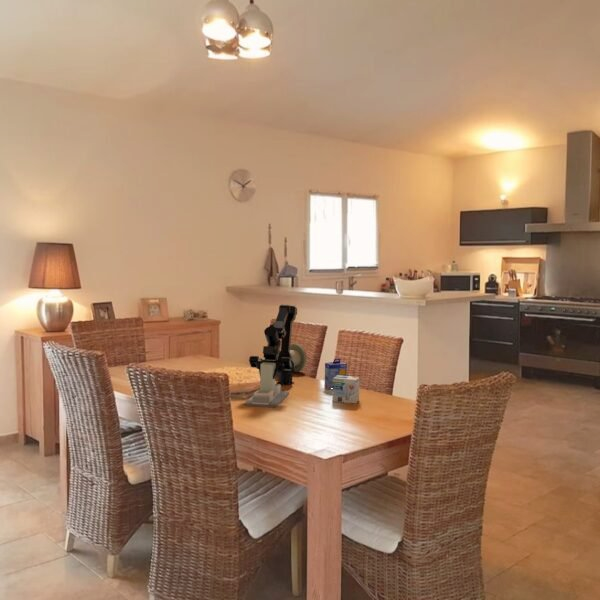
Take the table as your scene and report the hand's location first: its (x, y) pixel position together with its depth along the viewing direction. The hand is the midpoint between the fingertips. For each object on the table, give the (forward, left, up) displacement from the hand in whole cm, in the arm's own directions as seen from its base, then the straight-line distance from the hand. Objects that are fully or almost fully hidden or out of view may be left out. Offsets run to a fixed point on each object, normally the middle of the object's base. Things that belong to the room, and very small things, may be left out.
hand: (266, 378), depth 279 cm
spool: (-36, +51, -10) cm, 63 cm away
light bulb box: (+26, +23, -10) cm, 37 cm away
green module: (-1, +1, -7) cm, 7 cm away
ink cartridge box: (+6, +41, -10) cm, 43 cm away
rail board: (-1, +1, -10) cm, 10 cm away
